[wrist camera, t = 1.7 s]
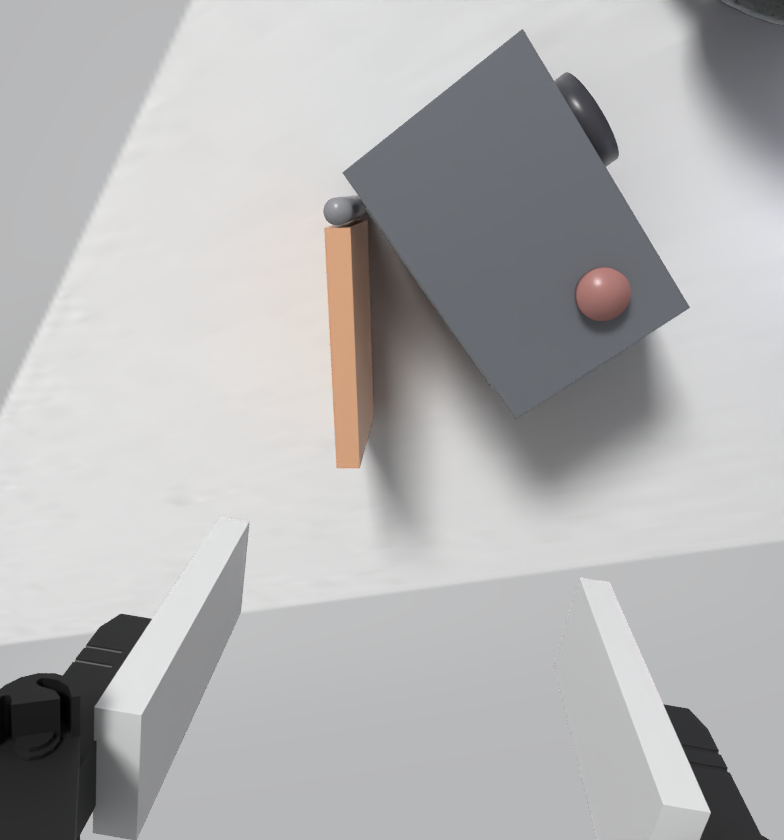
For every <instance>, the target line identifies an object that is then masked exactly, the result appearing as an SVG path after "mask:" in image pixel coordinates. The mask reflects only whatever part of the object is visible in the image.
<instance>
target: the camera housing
mask: <svg viewBox="0 0 784 840" xmlns="http://www.w3.org/2000/svg"><path fill="white" fill-rule="evenodd" d="M618 156H619V151H618V146H617V143H616V140H615V137H614V134H613V132H612V130H611V128H610V126H609V124H608V122H607V120H606V118H605V116H604V114H603V113H602V111H601V109H600V108H599V106H598V104H597V103H596V101H595V100H594V98H593V97H592V96H591V94H590V93H589V92H588V90H587V89H586V88H585V87H584V85H583V84H582V83H581V82H580V81H579V80H578V79H577V78H576V77H575V76H573V75H572V74H570V73H567V72H566V73H564V74H563V75H562V76H560V77H559V78H558V79H556V80H555V81H554V80H553V79H552V77H551V76H550V74H549V72H548V71H547V69H546V67H545V66H544V64H543V62H542V61H541V59H540V57H539V56H538V54H537V52H536V51H535V49H534V47H533V46H532V44H531V42H530V41H529V39H528V37H527V36H526V34H525V32H524V31H523V29H522V30H521V31H519V32H518V33H517V34H516V35H514V36H513V37H512V38H511V39H509V40H508V41H507V42H506V43H504V44H503V45H502V46H501V47H499V48H498V49H497V50H496V51H494V52H493V53H492V54H491V55H489V56H488V57H487V58H486V59H484V60H483V61H482V62H481V63H479V64H478V65H477V66H476V67H474V68H473V69H472V70H471V71H469V72H468V73H467V74H466V75H464V76H463V77H462V78H461V79H459V80H458V81H457V82H456V83H454V84H453V85H452V86H451V87H449V88H448V89H447V90H446V91H444V92H443V93H442V94H441V95H439V96H438V97H437V98H435V99H434V100H433V101H432V102H430V103H429V104H428V105H427V106H425V107H424V108H423V109H422V110H420V111H419V112H418V113H417V114H415V115H414V116H413V117H412V118H410V119H409V120H408V121H407V122H405V123H404V124H403V125H402V126H400V127H399V128H398V129H397V130H395V131H394V132H393V133H392V134H390V135H389V136H388V137H387V138H385V139H384V140H383V141H382V142H380V143H379V144H378V145H377V146H375V147H374V148H373V149H372V150H370V151H369V152H368V153H367V154H365V155H364V156H363V157H362V158H360V159H359V160H358V161H357V162H355V163H354V164H353V165H352V166H350V167H349V168H348V169H347V170H345V171H344V172H343V174H344V176H345V177H346V179H347V180H348V181H349V183H350V184H351V186H352V187H353V188H354V190H355V191H356V193H357V194H358V196H359V197H360V198H361V200H362V201H363V203H364V204H365V205H366V208H365V210H366V211H367V212H368V214H369V215H370V217H371V218H372V220H373V221H374V222H375V224H376V225H377V227H378V228H379V229H380V231H381V232H382V234H383V235H384V237H385V238H386V239H387V241H388V242H389V244H390V245H391V246H392V248H393V249H394V251H395V252H396V254H397V255H398V256H399V258H400V259H401V261H402V262H403V263H404V265H405V266H406V268H407V269H408V270H409V272H410V273H411V275H412V276H413V278H414V279H415V280H416V282H417V283H418V285H419V286H420V287H421V289H422V290H423V292H424V293H425V295H426V296H427V297H428V299H429V300H430V302H431V303H432V304H433V306H434V307H435V309H436V310H437V312H438V313H439V314H440V316H441V317H442V319H443V320H444V321H445V323H446V324H447V326H448V327H449V329H450V330H451V331H452V333H453V334H454V336H455V337H456V338H457V340H458V341H459V343H460V344H461V346H462V347H463V348H464V350H465V351H466V353H467V354H468V355H469V357H470V358H471V360H472V361H473V362H474V364H475V365H476V367H477V368H478V370H479V371H480V372H481V374H482V375H483V377H484V378H485V379H486V381H487V382H488V384H489V385H490V386H491V385H493V387H494V388H495V390H496V391H497V393H498V394H499V395H500V397H501V398H502V400H503V401H504V403H505V404H506V405H507V407H508V408H509V410H510V411H511V412H512V414H513V415H514V417H515V418H518V417H519V416H521V415H523V414H524V413H526V412H527V411H529V410H530V409H532V408H534V407H535V406H537V405H538V404H540V403H541V402H543V401H545V400H546V399H548V398H549V397H551V396H552V395H554V394H555V393H557V392H559V391H560V390H562V389H563V388H565V387H566V386H568V385H570V384H571V383H573V382H574V381H576V380H577V379H579V378H581V377H582V376H584V375H585V374H587V373H588V372H590V371H592V370H593V369H595V368H596V367H598V366H599V365H601V364H603V363H604V362H606V361H607V360H609V359H610V358H612V357H613V356H615V355H617V354H618V353H620V352H621V351H623V350H624V349H626V348H628V347H629V346H631V345H632V344H634V343H635V342H637V341H639V340H640V339H642V338H643V337H645V336H646V335H648V334H650V333H651V332H653V331H654V330H656V329H657V328H659V327H660V326H662V325H664V324H665V323H667V322H668V321H670V320H671V319H673V318H675V317H676V316H678V315H679V314H681V313H682V312H684V311H686V310H687V309H689V308H690V307H689V305H688V304H687V302H686V300H685V299H684V297H683V295H682V294H681V292H680V290H679V289H678V287H677V285H676V284H675V282H674V280H673V279H672V277H671V275H670V274H669V272H668V270H667V269H666V267H665V265H664V264H663V262H662V260H661V259H660V257H659V255H658V254H657V252H656V250H655V249H654V247H653V245H652V244H651V242H650V240H649V239H648V237H647V235H646V234H645V232H644V230H643V229H642V227H641V225H640V224H639V222H638V220H637V219H636V217H635V215H634V214H633V212H632V210H631V209H630V207H629V205H628V204H627V202H626V200H625V199H624V197H623V195H622V194H621V192H620V190H619V189H618V187H617V185H616V184H615V182H614V180H613V179H612V177H611V175H610V174H609V172H608V170H607V169H606V166H607V165H609V164H610V163H612V162H613V161H614V160H616V159H617V158H618Z"/></svg>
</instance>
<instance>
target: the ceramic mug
mask: <svg viewBox="0 0 784 840" xmlns="http://www.w3.org/2000/svg"><path fill="white" fill-rule="evenodd" d="M721 1H722V2H724V3H725V4H727V5H730V6H732V7H733V8H736V9H738V10H740V11H742V12H744V13H745V14H747V15H750V16H753V17H756V18H759V19H762V20H765V21H769V22H772V23H774V24H782V25H784V0H721Z"/></svg>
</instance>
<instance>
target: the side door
mask: <svg viewBox="0 0 784 840" xmlns="http://www.w3.org/2000/svg"><path fill="white" fill-rule="evenodd" d="M365 208H366V205H365V204H364V203H363V201H362V200H361V198H360V197H359V196H348V197H339V198H332V199H330V200H329V201H328V202H327V203H326V204H325V206H324V216H325V218H326V220H327V221H328V222H329V223H331V224H333V225H332V226H329V227H326V228H324V229H325V249H326V268H327V288H328V308H329V328H330V347H331V367H332V387H333V406H334V426H335V446H336V465H337V468H360V465H361V461H362V458H363V454H364V450H365V447H366V443H367V439H368V436H369V432H370V428H371V425H372V421H373V417H374V407H373V375H372V342H371V310H370V277H369V244H368V220H354V219H357V218H359V217H362V216H363V215H364V214H365V213H366V210H365Z"/></svg>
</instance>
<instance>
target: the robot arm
mask: <svg viewBox="0 0 784 840" xmlns="http://www.w3.org/2000/svg"><path fill="white" fill-rule="evenodd" d="M248 531H249V521H245V520H239V519H233V518H227V517H221V516H219V518H218V519H217V521H216V522H215V524H214V526H213V527H212V529H211V530H210V532H209V533H208V535H207V536H206V538H205V539H204V541H203V542H202V544H201V545H200V547H199V548H198V550H197V551H196V553H195V554H194V556H193V558H192V559H191V561H190V562H189V564H188V565H187V567H186V568H185V570H184V571H183V573H182V574H181V576H180V577H179V579H178V580H177V582H176V583H175V585H174V587H173V588H172V590H171V591H170V593H169V594H168V596H167V597H166V599H165V600H164V602H163V603H162V605H161V606H160V608H159V609H158V611H157V612H156V614H155V615H154V617H153V619H149V618H143V617H137V616H131V615H125V614H120V615H118V616H117V617H115V618H113V619H112V620H110V621H109V622H107V623H106V624H104V625H102V626H101V627H100V628H99V629H98V630H97V632H96V633H95V634H94V635H93V637H92V638H91V640H90V641H89V642H88V643H87V645H86V648H84V649H83V650H82V651H81V652H80V654H79V655H78V657H77V658H76V660H75V662H73V663H72V664H71V666H70V667H69V668H68V670H67V671H66V672H65V674H64V675H63V676H61V675H58V674H54V673H53V674H52V673H50V674H48V673H38V674H34V675H29V676H25V677H21V678H19V679H17V680H15V681H13V682H11V683H9V684H7V685H5V686H4V687H3V688H1V689H0V840H80V834H81V832H82V830H83V828H84V826H85V825H86V823H87V821H88V819H89V817H90V815H91V814H92V812H93V833H96V834H103V835H109V836H113V837H120V838H126V839H132V840H137V838H138V836H139V834H140V832H141V829H142V827H143V825H144V823H145V821H146V819H147V816H148V814H149V812H150V810H151V808H152V805H153V803H154V801H155V799H156V797H157V794H158V792H159V790H160V788H161V786H162V784H163V781H164V779H165V777H166V775H167V773H168V770H169V768H170V766H171V764H172V761H173V759H174V757H175V755H176V753H177V751H178V748H179V746H180V744H181V742H182V740H183V738H184V735H185V733H186V731H187V729H188V727H189V725H190V722H191V720H192V718H193V716H194V713H195V711H196V709H197V707H198V705H199V703H200V701H201V698H202V696H203V694H204V692H205V689H206V687H207V685H208V683H209V681H210V679H211V677H212V674H213V672H214V670H215V668H216V665H217V663H218V661H219V659H220V657H221V655H222V652H223V650H224V648H225V646H226V644H227V641H228V639H229V637H230V635H231V633H232V631H233V628H234V626H235V624H236V622H237V620H238V617H239V615H240V613H241V604H242V594H243V583H244V573H245V563H246V552H247V542H248ZM554 669H555V672H556V676H557V681H558V685H559V689H560V693H561V697H562V701H563V705H564V709H565V713H566V717H567V721H568V726H569V729H570V734H571V738H572V742H573V746H574V750H575V754H576V758H577V762H578V766H579V770H580V774H581V778H582V782H583V786H584V790H585V794H586V798H587V803H588V806H589V811H590V815H591V819H592V822H593V827H594V831H595V835H596V839H597V840H769V839H767V838H765V837H764V836H762V835H761V834H760V832H759V830H758V828H757V826H756V824H755V822H754V820H753V818H752V816H751V814H750V812H749V810H748V808H747V806H746V804H745V802H744V800H743V798H742V796H741V794H740V792H739V790H738V788H737V786H736V784H735V782H734V780H733V778H732V776H731V774H730V773H728V772H727V766H726V764H725V762H724V761H723V758H722V757H721V755H719V754H718V751H719V750H718V749H717V747H716V744H715V742H714V741H713V738H712V737H711V734H710V732H709V731H708V729H707V728H706V727H705V726H704V725H703V724H702V723H701V721H700V720H699V719H698V718H697V717H696V716H695V715H694V714H693V713H692V712H691V711H690V710H689V709H686V708H681V707H675V706H669V705H663V703H662V700H661V698H660V696H659V694H658V691H657V689H656V687H655V685H654V682H653V680H652V678H651V675H650V673H649V671H648V669H647V666H646V664H645V662H644V660H643V657H642V655H641V653H640V651H639V648H638V647H637V644H636V641H635V639H634V637H633V635H632V633H631V630H630V628H629V625H628V624H627V621H626V619H625V617H624V614H623V612H622V610H621V607H620V605H619V603H618V600H617V598H616V596H615V594H614V591H613V589H612V587H611V585H610V582H605V581H599V580H593V579H587V578H581V577H579V580H578V584H577V587H576V591H575V594H574V598H573V601H572V605H571V608H570V612H569V615H568V618H567V623H566V626H565V629H564V632H563V636H562V639H561V643H560V646H559V650H558V653H557V657H556V660H555V664H554Z"/></svg>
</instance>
